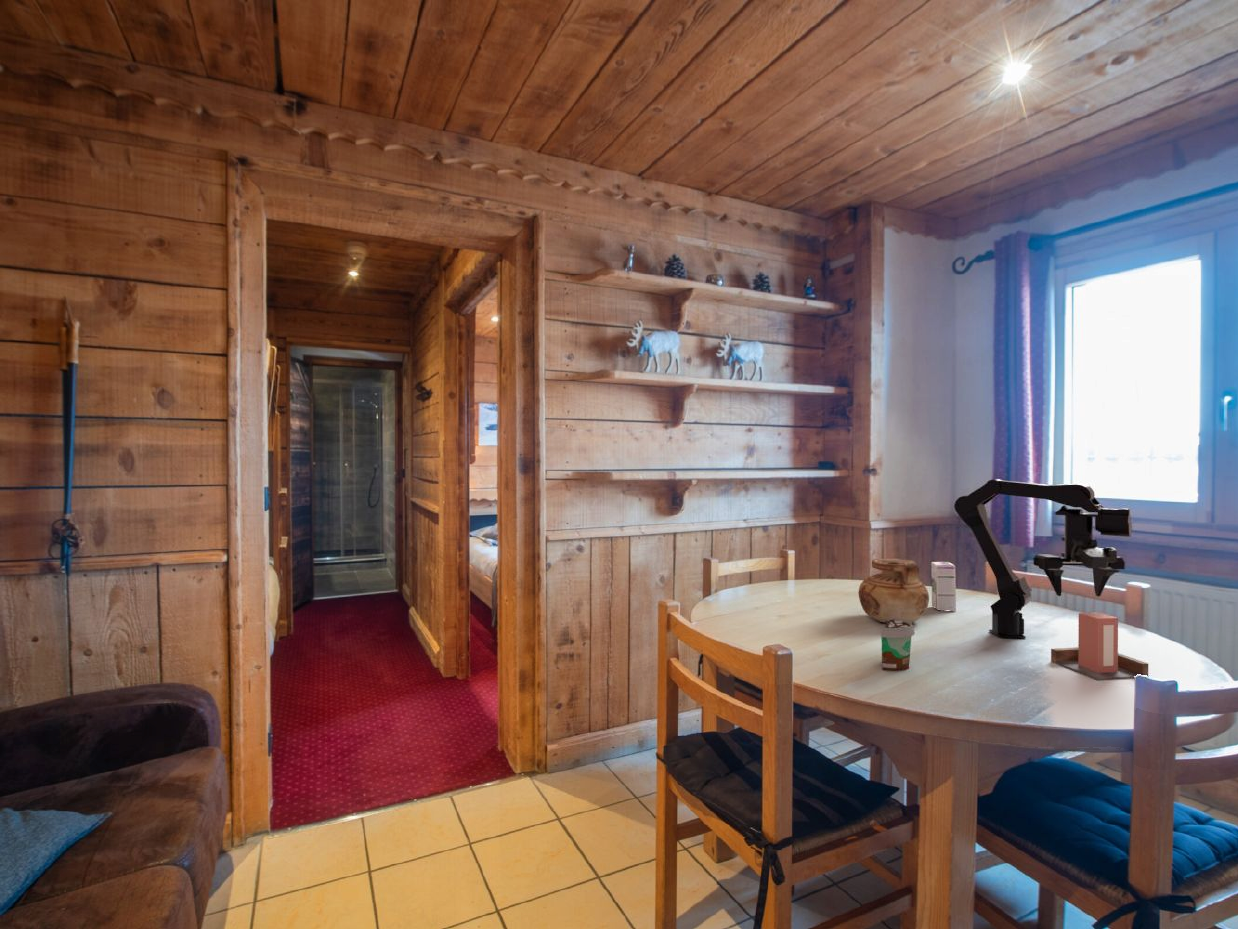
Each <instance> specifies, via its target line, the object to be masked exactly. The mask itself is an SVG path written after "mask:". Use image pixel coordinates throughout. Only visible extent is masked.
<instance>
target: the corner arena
mask: <svg viewBox="0 0 1238 929" xmlns="http://www.w3.org/2000/svg"><path fill="white" fill-rule="evenodd" d="M1050 662H1051V663H1053V664H1056V665H1059V666H1061V667H1064V668H1066V669H1068V670H1071V671H1074V672H1075V673H1079V674H1080V675H1083V676H1085V677H1087V678H1091V679H1092V680H1096V681H1106V680H1107V681H1108V680H1124V679H1125V680H1126V679H1135V678H1134V676H1136V675H1137V674H1141V675H1147V676H1148V677H1149V663H1148V662H1145V661H1142V660H1140V659H1136V658H1135V657H1132V656H1131V657H1130V656H1127V655H1124V654H1122V653H1119V652H1118V672H1105V673H1096V672H1094V671H1091V670H1089V669H1086V668H1084V667H1081V666H1079V665H1078V647H1061V648H1060V647H1059V648H1051V649H1050Z"/></svg>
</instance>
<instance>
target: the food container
mask: <svg viewBox="0 0 1238 929" xmlns="http://www.w3.org/2000/svg"><path fill="white" fill-rule="evenodd" d="M915 633H916V632H915V628H914V625H913V622H912V623H911V622H910V621H908V620H905V619H902V618H898V617H891V616H890V621H889V623H886V624H885V626H884V627H881V629H880V638H881V662H882V663H881V668H882V671H887V672H903V671H907V670H909V669H910V662H911V661H910V659H911V648H912V637H913V636H915V635H916V634H915Z"/></svg>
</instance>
